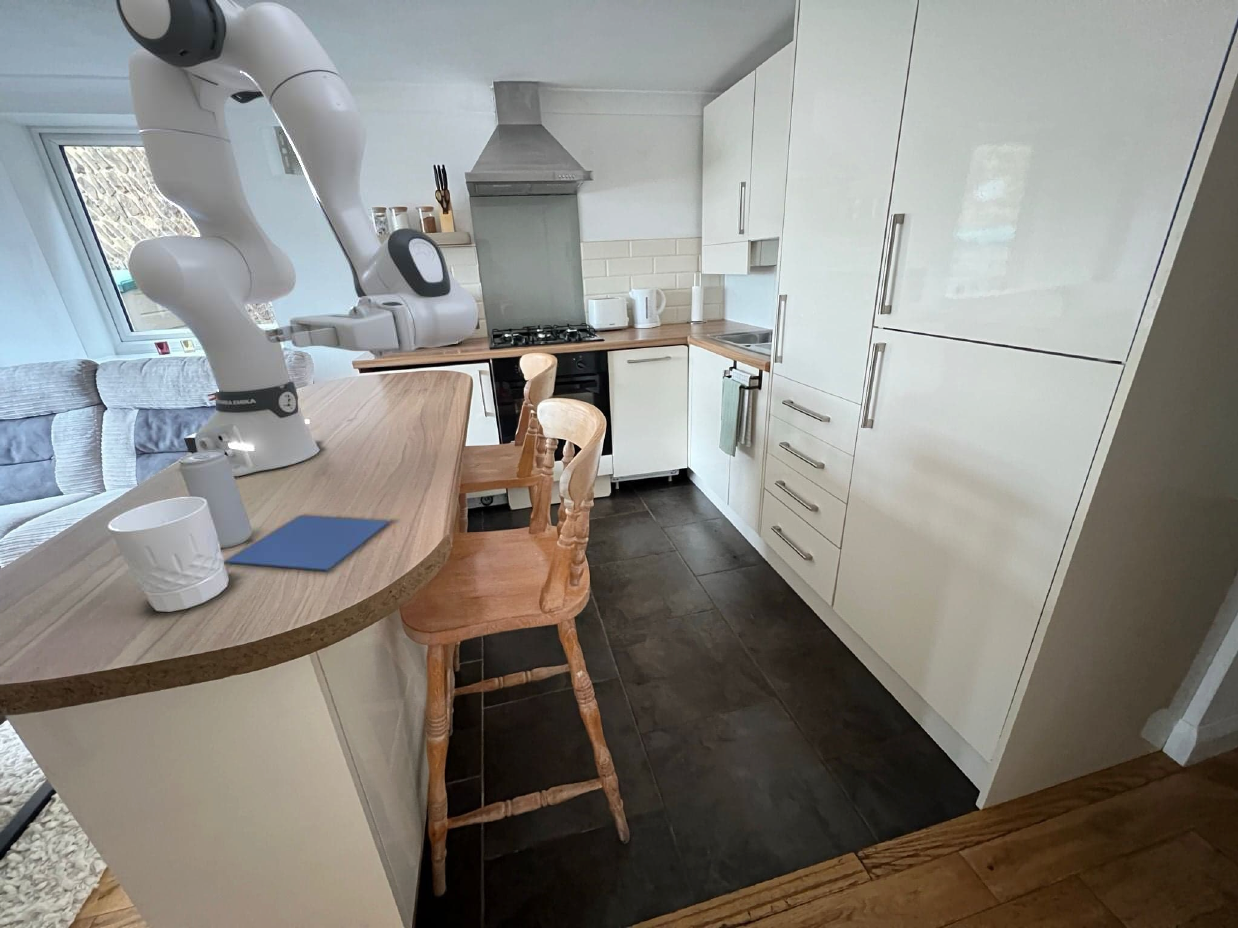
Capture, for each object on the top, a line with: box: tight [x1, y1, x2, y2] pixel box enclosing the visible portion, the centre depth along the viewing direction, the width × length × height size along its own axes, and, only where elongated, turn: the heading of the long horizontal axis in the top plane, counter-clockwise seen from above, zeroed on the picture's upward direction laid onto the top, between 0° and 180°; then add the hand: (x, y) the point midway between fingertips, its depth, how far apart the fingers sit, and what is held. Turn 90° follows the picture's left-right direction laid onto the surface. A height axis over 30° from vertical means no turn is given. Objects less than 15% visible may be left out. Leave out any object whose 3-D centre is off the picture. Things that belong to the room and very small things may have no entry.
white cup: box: [107, 496, 230, 613], centre depth 54 cm, size 8×8×10 cm
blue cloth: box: [225, 515, 389, 572], centre depth 66 cm, size 14×12×1 cm
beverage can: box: [178, 450, 253, 549], centre depth 65 cm, size 5×5×12 cm
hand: (279, 338), depth 67 cm, fingers open, 8 cm apart
